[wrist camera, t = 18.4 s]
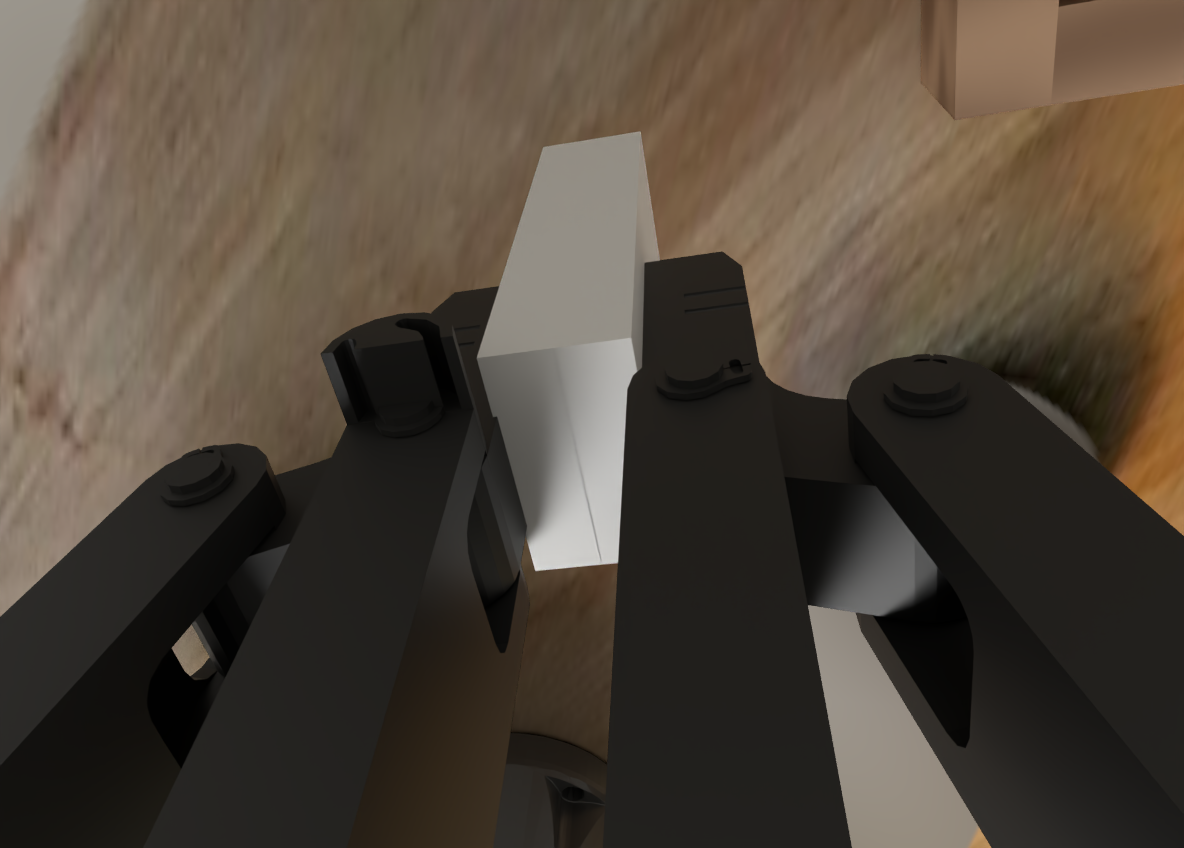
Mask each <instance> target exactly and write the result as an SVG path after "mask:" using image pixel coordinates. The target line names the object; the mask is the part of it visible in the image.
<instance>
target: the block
mask: <svg viewBox="0 0 1184 848" xmlns="http://www.w3.org/2000/svg"><path fill="white" fill-rule="evenodd" d="M921 83H922V85H923V86H924V87H925V88H926V89H927V90H928V91H929V92H930V93H931V94H932V96H933V97H934V98H935V99H936V100H937V101H938V102H939V103H940V104H941V105H942V107H943V108H944V109H945V110H946V111H947V112H948V113H949V114H950V115H951V116H952V118H953V119H954V120H959V119H965V118H972V117H978V116H984V115H991V114H997V113H1004V112H1010V111H1016V110H1023V109H1029V108H1036V107H1042V106H1048V105H1055V104H1061V103H1068V102H1074V101H1080V100H1087V99H1093V98H1100V97H1106V96H1112V95H1119V94H1125V93H1132V92H1138V91H1144V90H1151V89H1157V88H1164V87H1170V86H1176V85H1183V84H1184V0H921Z"/></svg>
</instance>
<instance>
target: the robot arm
mask: <svg viewBox="0 0 1184 848" xmlns="http://www.w3.org/2000/svg"><path fill="white" fill-rule="evenodd" d="M321 356H322V359H323V362H324V364H325V367H326V370H327V372H328V375H329V378H330V380H331V383H332V386H333V388H334V391H335V394H336V396H337V399H338V402H339V404H340V407H341V410H342V412H343V415H344V418H345V420H346V423H347V426H346V428H345V431H344V433H343V435H342V437H341V439H340V441H339V443H338V445H337V447H336V449H335V451H334V453H333V455H332V457H331V458H329V459H326V460H323V461H320V462H318V463H314V464H311V465H308V466H305V467H301V468H298V469H295V470H292V471H288V472H285V473H282V474H279V475H274V473H273V470H272V468H271V466H270V463H269V461H268V459H267V457H266V455H265V454H264V453H263V452H261V451H260V450H259V449H258V448H257V447H254V446H249V445H244V444H239V443H238V444H228V445H213V446H208V447H204V448H203V449H202V450H200V449H197V450H194V451H191V452H188V453H186V454H185V455H183V456H182V457H181V458H180V459H178V460H176V461H174V462H172V463H170V464H168V465H166V466H164V467H163V468H162V469H160V470H159V471H158V472H156V473H155V474H154V475H152V476H151V477H150V478H148V479H147V480H146V481H145V482H144V483H142V484H141V485H140V486H139V487H138V488H137V489H136V490H135V491H134V492H133V493H132V494H131V495H130V496H129V497H128V498H126V499H125V500H124V501H123V502H122V503H121V504H120V505H119V506H118V507H117V508H116V509H115V510H114V511H113V512H112V513H110V514H109V515H108V516H107V517H106V518H105V519H104V520H103V521H102V522H101V523H100V524H99V525H98V526H97V527H96V528H95V529H93V530H92V531H91V532H90V533H89V534H88V535H87V536H86V537H85V538H84V539H83V540H82V541H81V542H80V543H79V544H77V545H76V546H75V547H74V548H73V549H72V550H71V551H70V552H69V553H68V554H67V555H66V556H65V557H64V558H63V559H62V560H60V561H59V562H58V563H57V564H56V565H55V566H54V567H53V568H52V569H51V570H50V571H49V572H48V573H47V574H46V575H44V576H43V577H42V578H41V579H40V580H39V581H38V582H37V583H36V584H35V585H34V586H33V587H32V588H31V589H30V590H28V591H27V592H26V593H25V594H24V595H23V596H22V597H21V598H20V599H19V600H18V601H17V602H16V603H15V604H14V605H13V606H11V607H10V608H9V609H8V610H7V611H6V612H5V613H4V614H3V615H2V616H1V617H0V848H852V846H851V840H850V835H849V830H848V824H847V818H846V813H845V808H844V802H843V797H842V791H841V785H840V780H839V775H838V769H837V763H836V758H835V753H834V747H833V742H832V736H831V731H830V725H829V720H828V714H827V709H826V703H825V698H824V692H823V687H822V681H821V676H820V670H819V665H818V660H817V654H816V648H815V643H814V637H813V632H812V626H811V621H810V616H809V610H808V605H812V606H818V607H824V608H831V609H837V610H844V611H850V612H856V615H857V619H858V622H859V625H860V628H861V632H862V633H863V635H864V636H865V638H866V640H867V642H868V643H869V645H870V647H871V648H872V650H873V652H874V653H875V655H876V657H877V658H878V660H879V662H880V663H881V665H882V666H883V668H884V670H885V671H886V673H887V675H888V676H889V678H890V680H891V681H892V683H893V685H894V686H895V688H896V690H897V691H898V693H899V695H900V696H901V698H902V700H903V701H904V703H905V705H906V706H907V708H908V710H909V711H910V713H911V715H912V716H913V718H914V720H915V721H916V723H917V725H918V726H919V728H920V729H921V731H922V733H923V735H924V736H925V738H926V740H927V741H928V743H929V745H930V746H931V748H932V749H933V751H934V753H935V754H936V756H937V758H938V759H939V761H940V763H941V764H942V766H943V768H944V769H945V771H946V773H947V774H948V776H949V778H950V779H951V781H952V783H953V784H954V786H955V788H956V789H957V791H958V793H959V794H960V796H961V798H962V799H963V801H964V803H965V804H966V806H967V808H968V809H969V811H970V813H971V814H972V816H973V818H974V819H975V821H976V823H977V824H978V826H979V828H980V829H981V831H982V833H983V834H984V836H985V838H986V839H987V841H988V843H989V844H990V846H991V848H1184V536H1183V535H1182V534H1181V533H1180V532H1178V531H1177V530H1176V529H1175V528H1174V527H1173V526H1171V525H1170V524H1169V523H1168V522H1167V521H1166V520H1165V519H1163V518H1162V517H1161V516H1160V515H1159V514H1158V513H1157V512H1155V511H1154V510H1153V509H1152V508H1151V507H1150V506H1148V505H1147V504H1146V503H1145V502H1144V501H1143V500H1142V499H1140V498H1139V497H1138V496H1137V495H1136V494H1135V493H1133V492H1132V491H1131V490H1130V489H1129V488H1128V487H1127V486H1125V485H1124V484H1123V483H1122V482H1121V481H1120V480H1118V479H1117V478H1116V477H1115V476H1114V475H1113V474H1112V473H1110V472H1109V471H1108V470H1107V469H1106V468H1105V467H1103V466H1102V465H1101V464H1100V463H1099V462H1098V461H1097V460H1095V459H1094V458H1093V457H1092V456H1091V455H1090V454H1088V453H1087V452H1086V451H1085V450H1084V449H1083V448H1082V447H1080V446H1079V445H1078V444H1077V443H1076V442H1074V441H1073V440H1072V439H1071V438H1070V437H1069V436H1068V435H1067V434H1065V433H1064V432H1063V431H1062V430H1061V429H1060V428H1058V427H1057V426H1056V425H1055V424H1054V423H1052V422H1051V421H1050V420H1049V419H1048V418H1047V417H1046V416H1045V415H1043V414H1042V413H1041V412H1040V411H1039V410H1038V409H1037V408H1035V407H1034V406H1033V405H1032V404H1031V403H1030V402H1028V401H1027V400H1026V399H1025V398H1024V397H1023V396H1021V395H1020V394H1019V393H1018V392H1017V391H1016V390H1015V389H1013V388H1012V387H1011V386H1010V385H1009V384H1008V383H1007V382H1005V381H1004V380H1003V379H1002V378H1001V377H1000V376H999V375H997V374H995V373H994V372H992V371H990V370H988V369H987V368H985V367H983V366H981V365H980V364H978V363H975V362H971V361H967V360H963V359H959V358H955V357H951V356H946V355H936V354H934V356H932V355H930V354H921V355H913V356H910V357H903V358H896V359H891V360H888V361H886V362H883V363H881V364H878V365H875V366H873V367H870V368H868V369H867V370H865V371H864V372H863V373H862V374H861V375H859V376H858V377H857V378H856V379H854V380H853V381H852V383H851V386H850V389H849V392H848V394H847V400H844V399H828V398H820V397H812V396H805V395H802V394H798V393H795V392H792V391H788V390H786V389H784V388H782V387H780V386H778V385H776V384H775V383H773V382H772V381H771V380H770V379H769V378H768V377H767V376H766V374H765V371H764V369H763V368H762V366H761V365H760V363H759V358H758V352H757V347H756V341H755V336H754V330H753V325H752V319H751V314H750V308H749V303H748V297H747V291H746V286H745V280H744V275H743V269H742V266H741V265H740V264H738V263H737V262H736V261H734V260H733V259H732V258H730V257H729V256H728V255H726V254H725V253H724V252H716V253H709V254H702V255H695V256H688V257H681V258H674V259H667V260H660V258H659V251H658V244H657V238H656V231H655V224H654V218H653V211H652V204H651V198H650V191H649V184H648V178H647V171H646V164H645V158H644V151H643V145H642V138H641V131H640V132H634V133H627V134H621V135H615V136H609V137H603V138H597V139H590V140H584V141H578V142H572V143H566V144H559V145H553V146H547V147H543V150H542V153H541V156H540V159H539V162H538V166H537V169H536V172H535V175H534V178H533V181H532V185H531V188H530V191H529V194H528V197H527V200H526V204H525V207H524V210H523V213H522V216H521V219H520V223H519V226H518V229H517V232H516V235H515V238H514V242H513V245H512V248H511V251H510V254H509V257H508V261H507V264H506V267H505V270H504V273H503V276H502V280H501V283H500V286H498V287H490V288H483V289H476V290H469V291H462V292H455V293H454V294H452V295H451V296H450V297H449V298H448V299H447V300H446V301H444V302H443V303H442V304H441V305H440V306H439V307H438V308H436V309H435V310H434V311H433V312H432V313H431V314H429V313H404V314H397V315H393V316H388V317H384V318H380V319H376V320H373V321H370V322H368V323H365V324H363V325H360V326H358V327H355V328H353V329H351V330H349V331H348V332H346V333H345V334H343V335H341V336H340V337H338V338H336V339H335V340H333V341H332V342H331V343H330V344H329V345H328V346H327V348H326V349H325V350H324V351H323V352H322V353H321ZM525 536H526V539H527V542H528V546H529V549H530V553H531V557H532V560H533V564H534V568H535V571H540V570H551V569H561V568H571V567H581V566H591V565H602V564H612V563H618V572H617V591H616V610H615V629H614V647H613V666H612V685H611V704H610V722H609V741H608V760H607V765H606V764H605V763H604V762H603V761H601V760H600V759H598V758H597V757H595V756H593V755H592V754H590V753H588V752H586V751H584V750H582V749H580V748H577V747H575V746H573V745H570V744H567V743H565V742H561V741H558V740H555V739H551V738H547V737H542V736H536V735H530V734H520V733H510V732H511V725H512V719H513V712H514V705H515V699H516V692H517V686H518V679H519V672H520V666H521V659H522V653H523V646H524V639H525V633H526V626H527V619H528V613H529V606H530V601H529V594H528V588H527V584H526V581H525V577H524V574H523V570H522V567H521V559H522V553H523V547H524V541H525ZM191 624H192V625H193V627H194V629H195V631H196V633H197V635H198V636H199V638H200V640H201V642H202V644H203V645H204V647H205V649H206V651H207V653H208V655H209V656H210V658H209V659H208V660H207V661H206V663H205V664H204V665H203V666H202V668H200V669H199V670H198V671H197V672H195V673H194V674H193V675H192V676H189V675H188V674H187V673H186V672H185V671H184V669H183V668H182V666H181V664H180V662H179V661H178V659H177V657H176V655H175V654H174V652H173V650H172V649H171V648H172V647H173V646H174V644H175V643H176V642H177V641H178V640H179V638H180V637H181V636H182V635H183V634H184V633H185V631H186V630H187V629H188V628H189V627H190V625H191Z"/></svg>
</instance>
